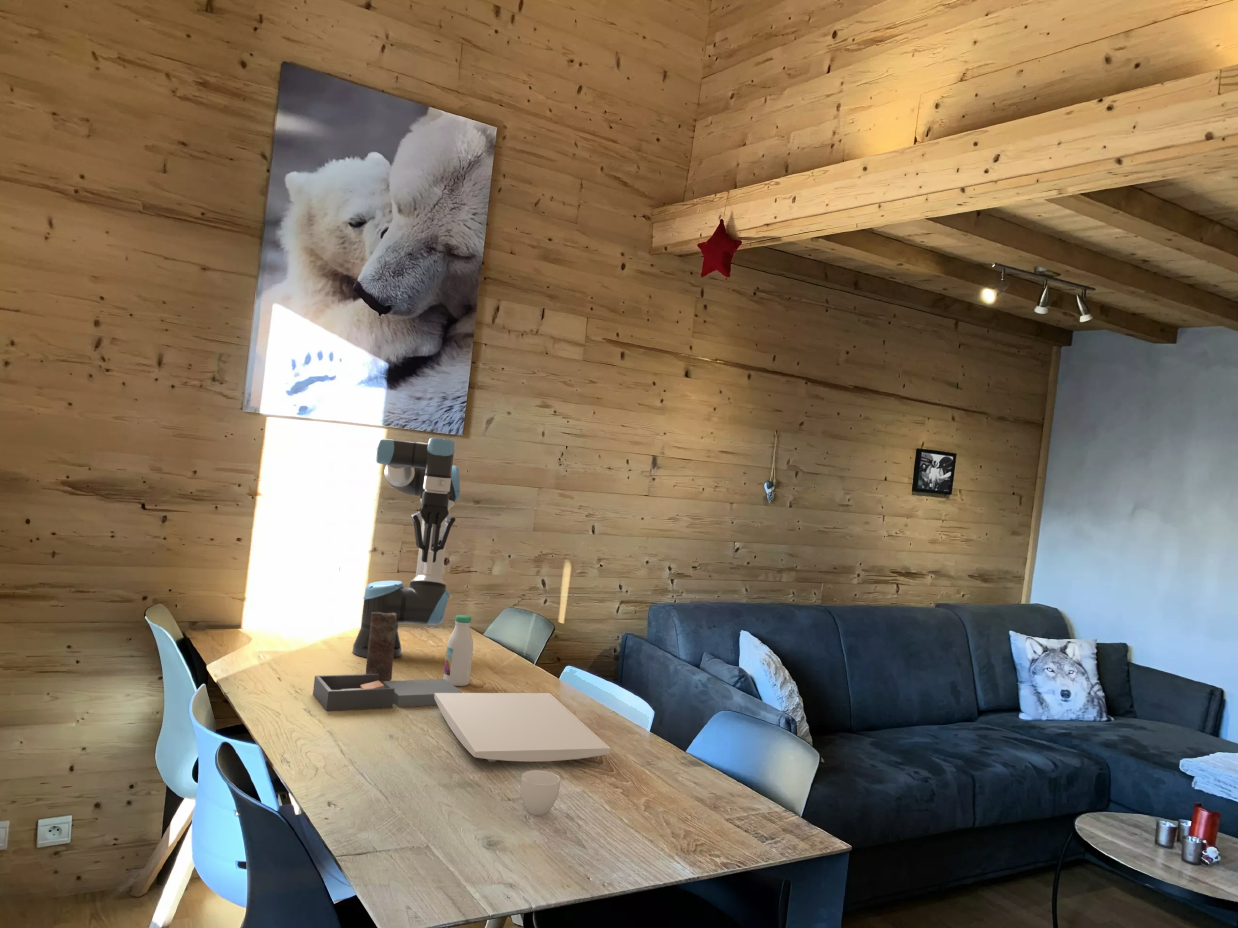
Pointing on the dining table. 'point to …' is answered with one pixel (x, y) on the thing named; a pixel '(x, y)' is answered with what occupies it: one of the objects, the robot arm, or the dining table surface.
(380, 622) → the candle
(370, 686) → the tile terracotta
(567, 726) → the board
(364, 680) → the box
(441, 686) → the slate board
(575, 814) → the dining table surface
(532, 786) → the cup
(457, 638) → the milk bottle
